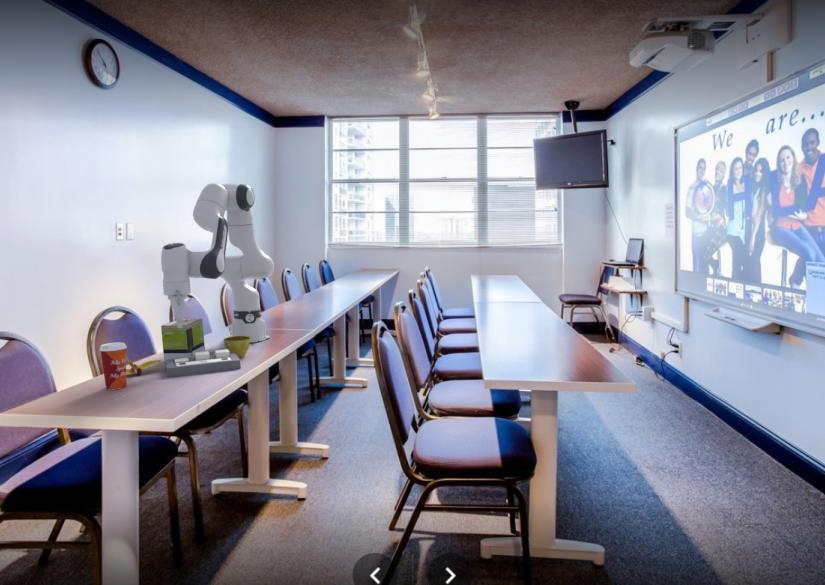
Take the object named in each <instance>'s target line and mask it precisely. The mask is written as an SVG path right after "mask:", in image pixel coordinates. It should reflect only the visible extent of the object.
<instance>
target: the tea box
mask: <svg viewBox="0 0 825 585" xmlns="http://www.w3.org/2000/svg"><path fill="white" fill-rule="evenodd" d="M182 324H183V327H182V328H177V322H176V319H175V320H173V321H170V322H167V323H164V324H162V325H160V326H161V328H160V329H161V342H162V351H163V352H162V353H163V361H164V363H165V362H166V360H169V359H178V358H187V357H195V353H196V352H206V346H205V332H204V322H203V318H183V322H182Z"/></svg>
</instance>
